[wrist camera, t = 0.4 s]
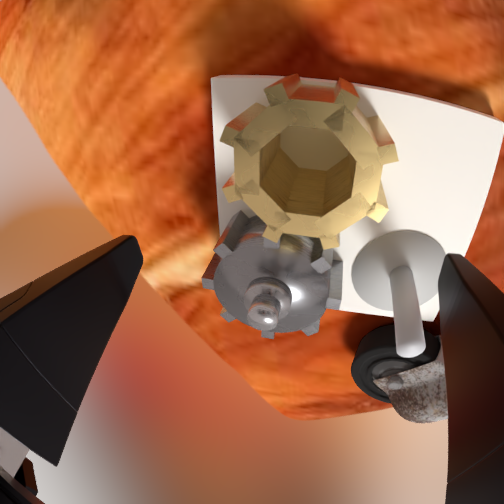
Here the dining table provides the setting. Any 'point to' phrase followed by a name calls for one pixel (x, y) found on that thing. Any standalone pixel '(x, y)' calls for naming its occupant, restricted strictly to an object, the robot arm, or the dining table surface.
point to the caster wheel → (403, 375)
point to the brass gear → (302, 179)
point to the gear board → (387, 193)
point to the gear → (273, 278)
